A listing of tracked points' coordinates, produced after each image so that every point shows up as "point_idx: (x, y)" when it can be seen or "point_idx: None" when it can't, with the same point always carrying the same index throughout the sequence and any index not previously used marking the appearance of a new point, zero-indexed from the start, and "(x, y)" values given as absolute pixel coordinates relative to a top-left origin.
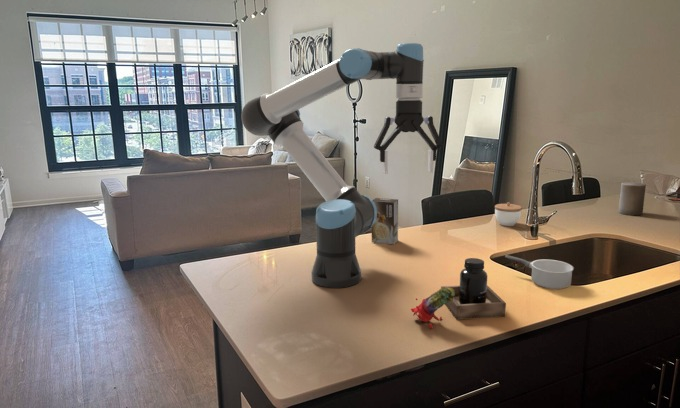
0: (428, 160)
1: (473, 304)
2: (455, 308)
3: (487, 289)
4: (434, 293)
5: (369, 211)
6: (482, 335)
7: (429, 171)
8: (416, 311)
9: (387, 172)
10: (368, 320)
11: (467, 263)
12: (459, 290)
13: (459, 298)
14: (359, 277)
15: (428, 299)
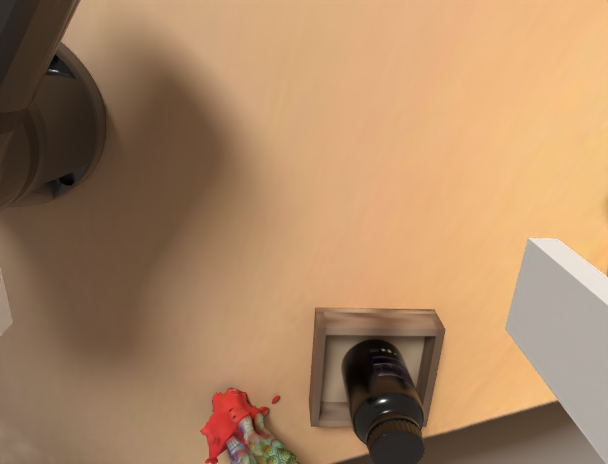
0: (602, 339)
1: (351, 424)
2: (310, 413)
3: (432, 351)
4: (255, 454)
5: (36, 3)
6: (331, 457)
7: (513, 310)
8: (209, 446)
9: (5, 329)
10: (112, 384)
11: (370, 456)
12: (346, 379)
13: (342, 370)
14: (92, 165)
15: (236, 460)
